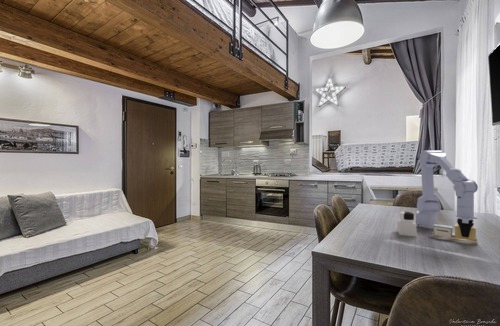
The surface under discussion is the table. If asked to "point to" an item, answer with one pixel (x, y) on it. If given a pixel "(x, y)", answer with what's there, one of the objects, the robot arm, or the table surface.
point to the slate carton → (442, 230)
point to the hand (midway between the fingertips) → (465, 235)
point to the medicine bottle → (406, 224)
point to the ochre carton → (471, 236)
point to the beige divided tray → (456, 239)
